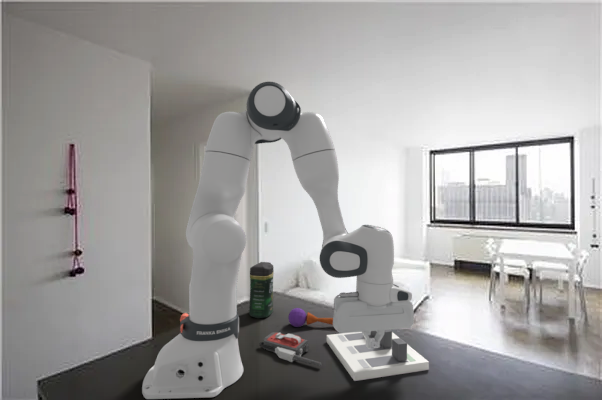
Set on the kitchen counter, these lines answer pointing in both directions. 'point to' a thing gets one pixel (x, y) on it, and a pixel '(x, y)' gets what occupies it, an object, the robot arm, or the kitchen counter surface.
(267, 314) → the coffee jar
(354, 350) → the breaker panel
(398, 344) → the block
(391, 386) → the kitchen counter surface
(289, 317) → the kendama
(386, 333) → the block
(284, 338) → the walkie-talkie
